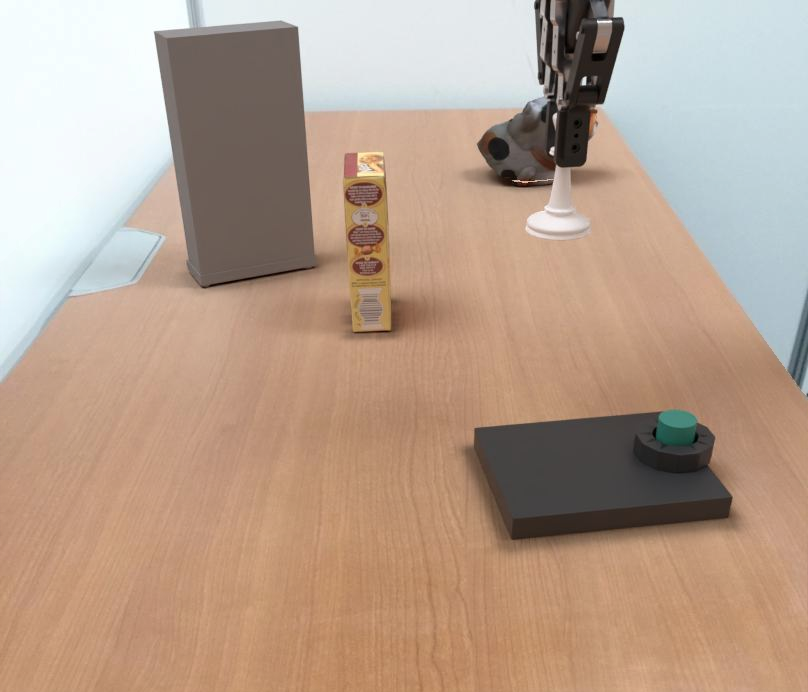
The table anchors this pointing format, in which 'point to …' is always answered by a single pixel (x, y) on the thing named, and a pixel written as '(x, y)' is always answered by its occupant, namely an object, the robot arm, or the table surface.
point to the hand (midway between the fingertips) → (564, 159)
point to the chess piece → (559, 211)
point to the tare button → (676, 428)
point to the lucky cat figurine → (523, 145)
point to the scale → (597, 475)
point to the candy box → (367, 240)
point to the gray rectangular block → (239, 148)
